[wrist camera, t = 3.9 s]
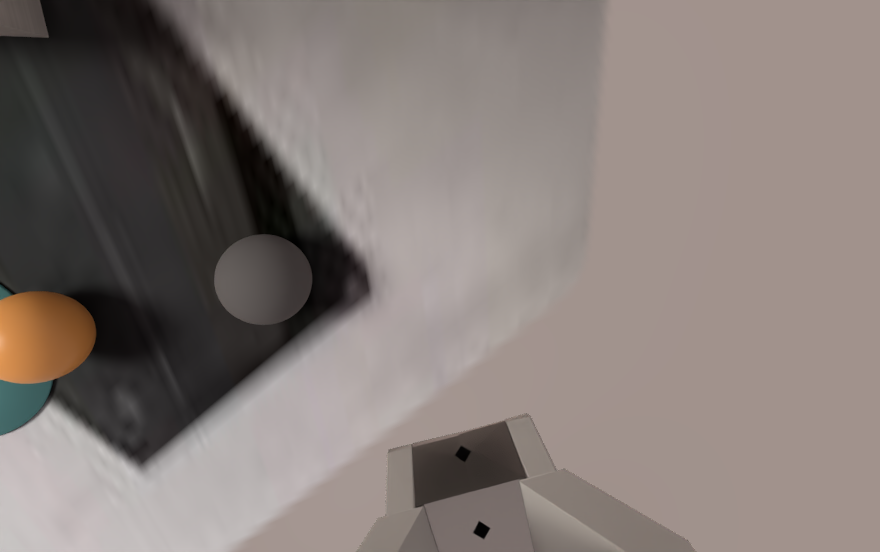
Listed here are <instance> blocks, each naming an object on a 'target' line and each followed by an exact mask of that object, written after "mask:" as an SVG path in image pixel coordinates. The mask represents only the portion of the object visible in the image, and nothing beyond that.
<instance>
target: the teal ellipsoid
mask: <svg viewBox="0 0 880 552" xmlns="http://www.w3.org/2000/svg"><path fill="white" fill-rule="evenodd" d="M12 295H13V294H12V293H11V292H10V291H9V290H7V289H6V288H5V287H3V286H2V285H1V284H0V300H2V299H4V298H6V297H9V296H12ZM52 385H53V380H50V381H47V382H41V383H33V384H19V383H12V382H8V381H4V380H0V435H3V434H6V433H8V432H10V431H12V430H14V429H17V428H18V427H20V426H21V425H23V424H24V423H26V422H27V421H28V420H30V419H31V418H32V417H33V416H34V415H35V414H36V413H37V412H38V411H39V410H40V409H41V407H42V406H43V405H44V403H45V402H46V400H47V398H48V396H49V394H50V391H51V388H52Z"/></svg>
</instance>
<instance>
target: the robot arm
mask: <svg viewBox="0 0 880 552" xmlns="http://www.w3.org/2000/svg"><path fill="white" fill-rule="evenodd" d="M356 552H696V551H695V549H694V548H693V547H692V545H691V544H690V542H689V541H688V540H686V539H685V538H683V537H681V536H680V535H678V534H676V533H674V532H673V531H671V530H669V529H667V528H666V527H664V526H662V525H661V524H659V523H657V522H656V521H654V520H651V519H650V518H649V517H647V516H645V515H643V514H642V513H640V512H638V511H637V510H635V509H633V508H631V507H630V506H628V505H626V504H624V503H623V502H621V501H619V500H618V499H616V498H614V497H612V496H611V495H609V494H607V493H605V492H604V491H602V490H600V489H599V488H597V487H595V486H593V485H592V484H590V483H588V482H587V481H585V480H583V479H581V478H580V477H578V476H576V475H575V474H573V473H571V472H569V471H568V470H566V469H561V470H556V468H555V466H554V464H553V461H552V459H551V457H550V455H549V453H548V451H547V449H546V447H545V445H544V443H543V441H542V439H541V437H540V435H539V433H538V431H537V429H536V427H535V425H534V423H533V420H532V418H531V416H530V415H529V414H527V413H526V414H522V415H518V416H515V417H511V418H508V419H505V421H499V422H496V423H492V424H488V425H485V426H481V427H477V428H473V429H470V430H466V431H463V432H458V433H454V434H450V435H446V436H441V437H437V438H433V439H429V440H424V441H420V442H416V443H413V444H409V445H405V446H401V447H397V448H393V449H389V451H388V453H387V470H386V514H385V516H384V517H380V518H378V519H377V520H376V522H375V523H374V525H373V526H372V528H371V530H370V531H369V533H368V534H367V536H366V537H365V539H364V540H363V542H362V543H361V545H360V546H359V548H358V549H357V551H356Z"/></svg>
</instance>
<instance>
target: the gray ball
mask: <svg viewBox="0 0 880 552" xmlns="http://www.w3.org/2000/svg"><path fill="white" fill-rule="evenodd" d="M214 283H215V289H216V293H217V295H218V298H219V300H220V302H221V303H222V305H223V306H224V307H225V308H226V310H227V311H228V312H230V313H231V314H232V315H233V316H235V317H236V318H238V319H240V320H242V321H245V322H248V323H251V324H258V325H269V324H275V323H278V322H281V321H284V320H286V319H288V318H290V317H291V316H293V315H294V314H295V313H297V312H298V311H299V310H300V309H301V308H302V307H303V305H304V304H305V302H306V301H307V299H308V297H309V294H310V291H311V287H312V272H311V268H310V264H309V262H308V260H307V258H306V257H305V255H304V254H303V253H302V251H301V250H300V249H299V248H298V247H297V246H295V245H294V244H293V243H291V242H290V241H288V240H286V239H284V238H281V237H278V236H274V235H266V234H262V235H253V236H249V237H246V238H243V239H241V240H239V241H237V242H236V243H234V244H233V245H231V246H230V247H229V248H228V249H227V250H226V251H225V252H224V253H223V255H222V256H221V258H220V260H219V262H218V264H217V266H216V270H215V278H214Z"/></svg>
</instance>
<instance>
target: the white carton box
mask: <svg viewBox="0 0 880 552" xmlns="http://www.w3.org/2000/svg"><path fill="white" fill-rule="evenodd" d="M0 36H16V37H43V38H49V36H48V32H47V28H46V23H45V19H44V15H43V11H42V7H41V3H40V0H0Z"/></svg>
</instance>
